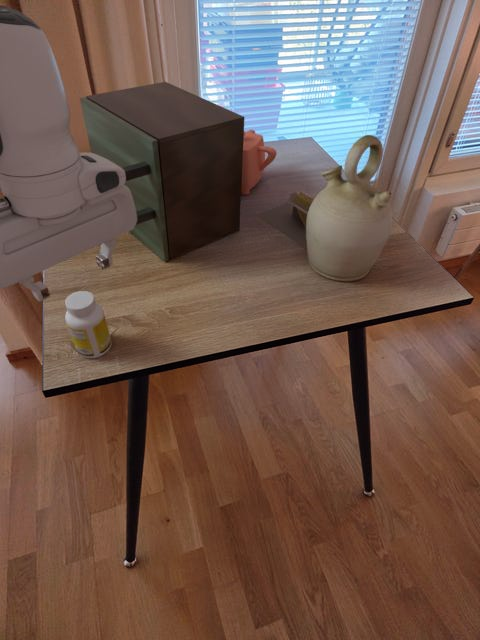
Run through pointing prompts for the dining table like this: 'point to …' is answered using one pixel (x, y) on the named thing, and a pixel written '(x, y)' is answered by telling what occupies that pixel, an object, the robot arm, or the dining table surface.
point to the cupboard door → (132, 170)
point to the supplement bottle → (87, 325)
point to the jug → (349, 217)
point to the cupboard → (188, 159)
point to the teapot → (254, 160)
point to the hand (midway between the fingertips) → (75, 280)
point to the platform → (290, 217)
